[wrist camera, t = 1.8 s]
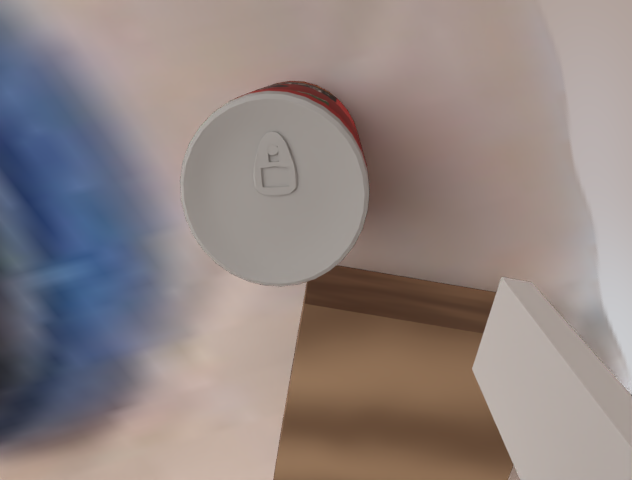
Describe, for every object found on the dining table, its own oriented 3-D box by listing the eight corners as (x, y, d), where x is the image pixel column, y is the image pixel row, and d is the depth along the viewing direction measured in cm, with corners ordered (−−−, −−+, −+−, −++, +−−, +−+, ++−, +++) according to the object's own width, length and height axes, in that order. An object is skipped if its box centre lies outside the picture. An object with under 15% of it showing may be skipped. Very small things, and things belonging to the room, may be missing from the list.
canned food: (336, 61, 28) (335, 62, 18) (376, 192, 31) (394, 259, 20) (212, 104, 29) (143, 129, 19) (260, 227, 32) (221, 308, 21)
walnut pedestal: (310, 261, 32) (304, 303, 27) (521, 296, 33) (559, 346, 27) (280, 431, 37) (270, 498, 31) (464, 461, 37) (487, 533, 32)
